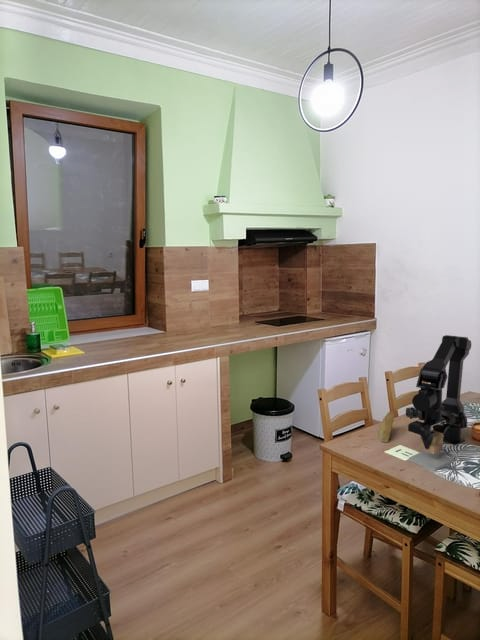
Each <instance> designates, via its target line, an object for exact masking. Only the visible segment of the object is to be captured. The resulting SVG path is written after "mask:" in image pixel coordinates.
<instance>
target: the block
mask: <svg viewBox="0 0 480 640" xmlns="http://www.w3.org/2000/svg"><path fill="white" fill-rule="evenodd" d="M431 431H432V432H434V435H433V438H432V441H431V444H430V447H429V449H426V448H425V446H424V443H423V441H422V438H421V437H420V450H421V451H426V452H429V453H432V454H436V453H440V452H442V451H443V448H444V444H443V443H444V441H443V437H444V435H443V433H440V432H437V431H434V430H433V429H431Z"/></svg>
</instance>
